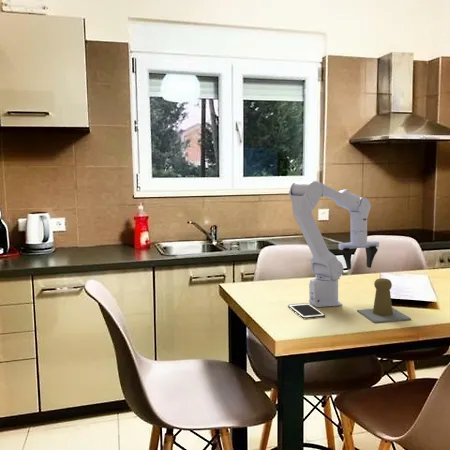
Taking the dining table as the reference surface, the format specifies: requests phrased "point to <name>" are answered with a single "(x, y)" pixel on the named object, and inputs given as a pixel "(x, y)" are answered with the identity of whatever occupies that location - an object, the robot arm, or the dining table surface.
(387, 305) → the cork
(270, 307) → the dining table surface
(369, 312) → the slate mat
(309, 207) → the robot arm
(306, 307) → the cell phone
